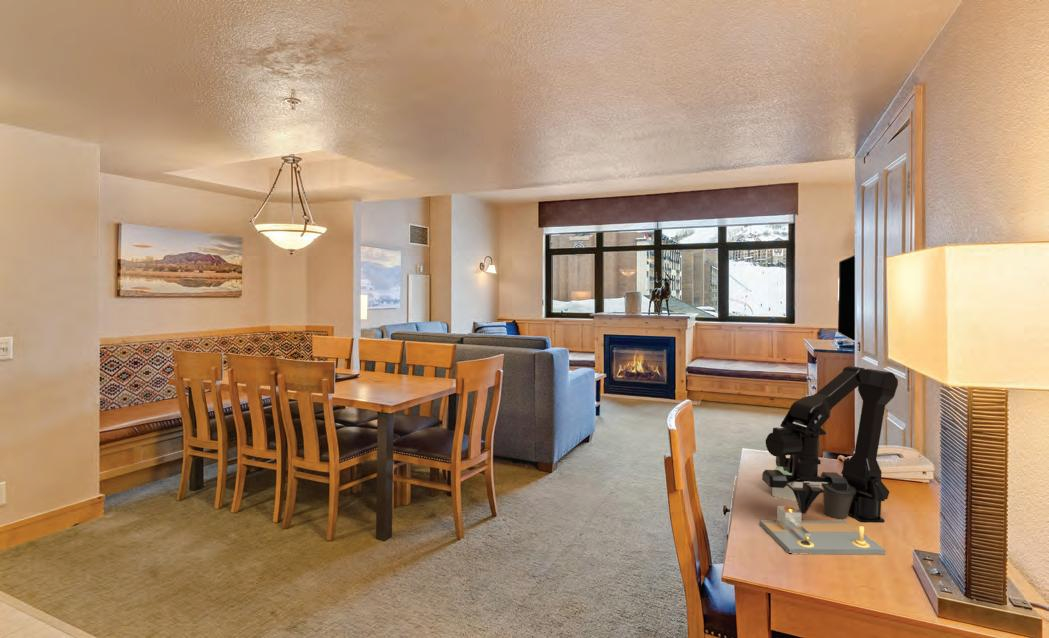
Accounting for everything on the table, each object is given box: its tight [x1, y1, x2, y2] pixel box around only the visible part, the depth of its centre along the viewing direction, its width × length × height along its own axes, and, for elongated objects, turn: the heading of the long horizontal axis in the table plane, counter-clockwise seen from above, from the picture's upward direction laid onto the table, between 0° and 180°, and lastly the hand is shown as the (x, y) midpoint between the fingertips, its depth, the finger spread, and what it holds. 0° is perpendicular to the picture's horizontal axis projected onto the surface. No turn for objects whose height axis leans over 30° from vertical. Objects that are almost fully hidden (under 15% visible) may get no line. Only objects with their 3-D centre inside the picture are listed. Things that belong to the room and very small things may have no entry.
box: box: [771, 466, 799, 502], centre depth 158 cm, size 7×14×8 cm, turn 145°
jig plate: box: [759, 519, 886, 556], centre depth 128 cm, size 22×15×5 cm
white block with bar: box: [776, 505, 810, 543], centre depth 128 cm, size 4×11×5 cm, turn 0°
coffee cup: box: [821, 484, 857, 521], centre depth 141 cm, size 8×8×10 cm
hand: (802, 513), depth 134 cm, fingers closed
